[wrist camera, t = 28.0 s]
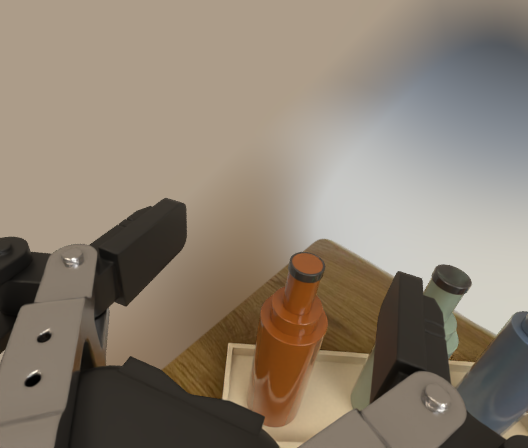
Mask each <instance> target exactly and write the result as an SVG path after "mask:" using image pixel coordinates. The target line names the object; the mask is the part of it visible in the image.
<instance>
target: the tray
mask: <svg viewBox="0 0 528 448" xmlns="http://www.w3.org/2000/svg"><path fill="white" fill-rule="evenodd" d="M254 348H255V345H249V344H236V343H228V350H227V360H226V369H225V378H224V387H223V396H222V399H223V400H229V401H232V402H234V403H236V404H238V405H241V406H243V407H245V408H247V409H248V406H247V390H248V384H249V378H250V372H251V366H252V360H253V354H254ZM368 356H369V354H362V353H350V352H337V351H325V350H320V351H319V353H318V356H317V359H316V362H315V365H314V368H313V371H312V374H311V376H310V379H309V382H308V385H307V388H306V391H305V394H304V397H303V399H302V402H301V405H300V408H299V411H298V413H297V415H296V417H295V418H294V420H293V421H292V422H290V423H289V424H287V425H285V426H282V427H268V426H265V425H263V427H262V429H264V430H265V431H266V432H267V433H268V434H269V435H270V436H271V437H272V438H273V439H274V440H275V441H276V442H277V444H278V445H279V446H280V448H297V447H299V446H300V445H302V444H303V443H304V442H306V441H307V440H309V439H310V438H312V437H313V436H314V435H316V434H317V433H319V432H320V431H322V430H323V429H324V428H326V427H327V426H329V425H330V424H331V423H333V422H334V421H336V420H337V419H339V418H340V417H341V416H343V415H344V414H346V413H347V412H349V411H351V410H353V408H352V404H351V391H352V389H353V386H354V384H355V382H356V380H357V378H358V376H359V374H360V372H361V370H362V368H363V366H364V364H365V362H366V360H367V358H368ZM448 361H449V370H450V378H451V385H452V386H453V387H454V388H455V386H456V385H457V384H458V383H459V381H460V380H461V379H462V378H463V377H464V375H465V374H466V373H467V372H468V370H469V369H470V368H471V367H472V365H473V364H474V363H475V362H463V361H451V360H448ZM513 435H525V436H528V414H527V415H526V416H524V417H523V418H522V419H521V420H520V421H519V422H518V423H517V424H515V425H514V426H513V427H512V428H511V429H510V430H509V431H508V432H506V433H505V434H504V435H503V436H502V437H504V438H505V439H506V440H507V439H508V438H509V437H511V436H513Z"/></svg>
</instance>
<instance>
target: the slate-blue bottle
mask: <svg viewBox="0 0 528 448" xmlns="http://www.w3.org/2000/svg"><path fill="white" fill-rule="evenodd" d="M455 389H456V390H457V391H458V393H459V394H460V395H461V397H462V399H463V401H464V403H465V407H466V410H467V411H468V412H469V413H470V414H471V415H472V416H473V417H475V418H476V419H477V420H479V421H480V422H481V423H483V424H484V425H486V426H487V427H489V428H490V429H492V430H493V431H495V432H496V433H498V434H499V435H501V436H503V435H504V434H505V433H506V432H508V431H509V430H510V429H511V428H512V427H513V426H514V425H515V424H517V423H518V422H519V421H520V420H521V419H522V418H523V417H524V416H526V415H527V414H528V312H524V311H522V312H517V313H515V314H514V315H513V316H512V317H511V318H510V319H509V321H508V322H507V323H506V324H505V326H504V327H503V328H502V329H501V331H500V332H499V333H498V334H497V336H496V337H495V338H494V339H493V340H492V342H491V343H490V344H489V345H488V347H487V348H486V349H485V350H484V352H483V353H482V354H481V355H480V357H479V358H478V359H477V360H476V362H475V363H474V364H473V365H472V367H471V368H470V369H469V370H468V372H467V373H466V374H465V375H464V377H463V378H462V379H461V380H460V381H459V383H458V384H457V385H456V386H455Z"/></svg>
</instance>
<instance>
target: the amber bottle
mask: <svg viewBox="0 0 528 448" xmlns="http://www.w3.org/2000/svg"><path fill="white" fill-rule="evenodd" d="M288 270H289V272H288V277H287V282H286V286H285V287H282V288H280V289H278V290H277V291H276V292H275V293H274V295H272V296H270V297H269V298H268V299H267V300H266V301H265V302H264V303H263V305H262V308H261V312H260V318H259V324H258V330H257V336H256V342H255V348H254V354H253V360H252V366H251V372H250V378H249V384H248V390H247V406H248V409H249V410H252V411H254V412H256V413H258V414H261V415H263V416H265V419H264V423H263V425H265V426H268V427H282V426H285V425H287V424H289V423H290V422H292V421H293V420H294V418H295V417H296V415H297V413H298V411H299V408H300V405H301V402H302V399H303V397H304V394H305V391H306V388H307V385H308V382H309V379H310V376H311V374H312V371H313V368H314V365H315V362H316V359H317V356H318V353H319V351H320V348H321V345H322V342H323V339H324V336H325V333H326V330H327V326H328V321H327V316H326V314H325V312H324V310H323V307H322V303H321V301H320V299H319V298H318V296H317V295H316V293H317V290H318V286H319V283H320V280H321V278H322V277H323V274H324V271H325V264H324V262H323V260H322V259H321V258H320V257H318V256H317V255H315V254H312V253H308V252H299V253H296V254H294V255H293V256H292V257H291V258H290V262H289V266H288Z"/></svg>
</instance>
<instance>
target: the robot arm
mask: <svg viewBox="0 0 528 448" xmlns="http://www.w3.org/2000/svg"><path fill="white" fill-rule="evenodd" d="M186 223H187V221H186V205H185V204H184V203H181V202H178V201H175V200H171V199H168V198H164V199H163V200H161V201H160V202H158V203H157V204H156V205H154V206H153V207H151V206H149V207H146V208H144V209H141V210H138V211H136V212H135V213H133V214H132V215H131V216H129V217H128V218H127V220H126V219H125V220H123V221H122V222H121V223H120V224H119V225H116V226H115V227H114V228H112V229H111V230H110V231H108V232H107V233H105V234H104V235H102V236H101V237H100V238H98V239H97V240H95V241H94V242H93V243H91V244H90V245H85V244H73V245H68V246H65V247H62V248H60V249H58V250H56V251H55V252H53V253H52V254H48V253H38V252H30V249H29V246H28V243H27V241H26V240H24V239H22V238H18V237H4V238H0V354H1V353H2V352H3V351H4V350H5V352H4V355H3V357H2V360H1V363H0V448H280V446H279V445H278V444H277V442H276V441H275V440H274V439H273V438H272V437H271V436H270V435H269V434H268V433H267V432H266V431H265V430H264V429H262V427H263V423H264V419H265V416H263V415H261V414H258V413H256V412H254V411H252V410H249V409H247V408H245V407H243V406H241V405H238V404H236V403H234V402H232V401H229V400H223V399H217V398H210V397H204V396H198V395H192V394H189V393H187V392H186V391H185V390H184V389H182V388H181V387H180V386H179V385H178V384H177V383H176V382H174V381H173V380H172V379H171V378H170V377H169V376H167V375H166V374H165V373H164V372H163V371H162V370H160V369H158V368H156V367H153V366H151V365H149V364H147V363H145V362H142V361H140V360H137V359H136V358H133V357H131V356H130V357H129V359H128V360H127V361H126V362H125V363H124V365H123V366H106V347H107V335H108V324H109V306H110V305H111V304H113V303H114V302H116V303H118V304H121V305H123V306H127V305H128V304H129V303H130V302H131V301H132V300H133V299H134V298H135V297H136V296H137V295H138V294H139V293H140V292H141V291H142V290H143V289H144V288H145V287H146V286H147V285H148V284H149V283H150V282H151V281H152V280H153V278H155V277H156V276H157V275H158V274H159V273H160V271H161V270H162V269H163V268H164V267H165V266H166V265H167V264H168V263H169V262H170V261H171V260H172V259H173V258H174V257H175V256H176V255H177V254H178V253H179V252H180V251H181V250H182V248H183V247H184V244H185V242H186V238H187V224H186ZM445 337H446V335H445V328H444V318H443V312H442V310H441V309H440V307H439V305H438V304H437V302H436V300H435V299H434V298H431V297H428V296H425V295H423V281H422V278H419V277H416V276H413V275H410V274H406V273H403V272H400V271H398V272H397V273H396V275H395V277H394V279H393V281H392V283H391V286H390V288H389V290H388V292H387V294H386V296H385V299H384V301H383V303H382V306H381V309H380V312H379V316H378V324H377V334H376V343H375V353H374V363H373V373H372V383H371V393H370V403H369V406H367V407H366V408H364V409H363V410H360V411H359V409H358V408H355V409H353V410H351V411H349V412H347V413H346V414H344V415H343V416H341V417H340V418H339V419H337V420H336V421H334V422H333V423H331V424H330V425H329V426H327V427H326V428H324V429H323V430H322V431H320V432H319V433H317V434H316V435H314V436H313V437H312V438H310V439H309V440H307V441H306V442H304V443H303V444H302V445H300V446H299V447H297V448H528V436H525V435H513V436H511V437H509V438H508V439H507V440H506V439H505V438H504V437H502V436H501V435H499V434H498V433H496V432H495V431H493V430H492V429H490V428H489V427H487V426H486V425H484V424H483V423H481V422H480V421H479V420H477V419H476V418H475V417H473V416H472V415H471V414H470V413H469V412H468V411H467V410H466V407H465V403H464V401H463V399H462V397H461V395H460V394H459V393H458V391H457V390H456V389H455V388H454V387H453V386H452V385H451V378H450V370H449V361H448V353H447V344H446V340H445Z"/></svg>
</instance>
